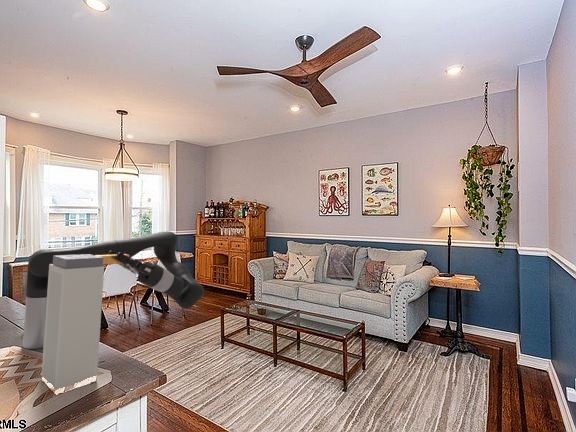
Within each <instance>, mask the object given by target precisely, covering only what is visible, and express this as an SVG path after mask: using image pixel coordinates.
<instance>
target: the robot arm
mask: <svg viewBox="0 0 576 432" xmlns="http://www.w3.org/2000/svg"><path fill="white" fill-rule="evenodd" d="M177 244H178V235H177V234H176V233H174V232H172V231H160V232H155V233H154V232H153V233H150V234H147V235H141V236H137V237H131V238H130V237H129V238H125V239H114V240H109V241H101V242H97V243H94V244H93V243H92V244H89V245H87V246H83V247H80V248H75V249H68V250H67V249H64V250H52V249H47V248H44V249H40V250H36V251H35V252H33V253H32V254H31V255H30V256H29V259H28V261H27V262H28V264H27V276H26V286H25V287H26V289H25V290H26V291H25V293H26V294H25V308H24V320H23V334H22V335H23V336H22V348H23V349H28V350H34V349H35V350H36V349H41V348H42V349H43V347H44V333H45V318H46V304H47V290H48V276H49V264H53V256H56V255H81V254H90V255H112V254H117V255H116V257H115V259H116V260H118V261H120V262H122V263H119V264H118V265H119V267H122V268H124V269H125V270H128V271H129V272H130V273H132V274H134V275H138V276H137V281H138V282H139V283H140V284H142V285H144V286H146V287H149V288H151V289H153V290H155V291H157V292H161V293H162V294H164V295H166V296H169V298H171V299H172V300H173V301H174V302H175V303H176V304H177V305H178V306H179V307H180V308H181V309H183V310H190V309H191V308H192V307H193V306H194V305H196V304H197V303H198V302H199V300H201V299H202V298H203V296H204V295H205V288H204V287H203V285H202V284H200V282H198V281H197V280H196V279H195V278H194V277H193V276H192V275H191V272H190V271H189V270H188V268H187V266H186V265H185V264H184V263H183V262H180V261H178V259H177V255H176V251H177V246H178V245H177ZM150 248H153V253H154V256H155V257H156V258H157V259H158V260H159V261H160V263H161V264H162V265H163V266H164V267H162V266H161V265H158V264H157V263H155V262H153V261H148V262H146V263H145V262H143V261H140V260H139V259H136V258H134V256H136V255H137V254H139V253H140V252H142V251H144V250H147V249H150ZM124 254H127V255H129V257H128V256H126V255H124ZM109 265H112V264H104V265H103V267H105V266H109Z"/></svg>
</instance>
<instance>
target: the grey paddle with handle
mask: <svg viewBox="0 0 576 432" xmlns="http://www.w3.org/2000/svg"><path fill="white" fill-rule="evenodd" d="M116 255H117V254H112V255H90V254H81V255H56V256H53V265H55V266H58V267H61V268H64V269H72V268H86V267H100V266H103V265H104V264H111V265H119V263H122V262H120V261H118V260H116V259H115V257H116ZM124 255H126V256H128V257H129V255H127V254H124ZM104 266H105V265H104ZM104 266H103V267H104Z"/></svg>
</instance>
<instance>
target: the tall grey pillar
mask: <svg viewBox="0 0 576 432" xmlns="http://www.w3.org/2000/svg"><path fill="white" fill-rule="evenodd" d="M104 274H105V266H100V267H86V268H72V269H64V268H61V267H58V266H55V265H53V264H49V276H48V290H47V304H46V318H45V333H44V347H42V349H43V350H42V363H41V364H42V365H41V375H42V376H43V377H44V378H45V379H46V380H47V381H48V382H49V383H51V384H52V385H53V387H54V388H55V389H56V390H57V389H59V388H63V387H67V386H70V385H73V384H75V383H78V382H81V381H83V380H85V379H87V378H90V377H93V376H96V375H97V376H98V371H99V370H98V367H99V366H98V365H99V354H100V353H99V351H100V337H101V323H102V320H101V319H102V309H103V308H102V305H103V291H104V277H105V276H104Z"/></svg>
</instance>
